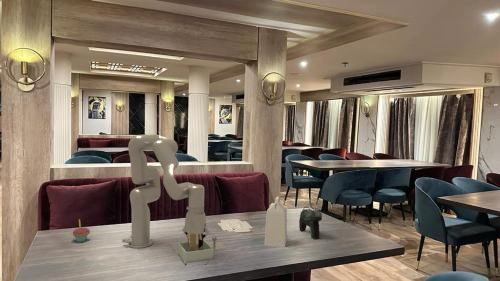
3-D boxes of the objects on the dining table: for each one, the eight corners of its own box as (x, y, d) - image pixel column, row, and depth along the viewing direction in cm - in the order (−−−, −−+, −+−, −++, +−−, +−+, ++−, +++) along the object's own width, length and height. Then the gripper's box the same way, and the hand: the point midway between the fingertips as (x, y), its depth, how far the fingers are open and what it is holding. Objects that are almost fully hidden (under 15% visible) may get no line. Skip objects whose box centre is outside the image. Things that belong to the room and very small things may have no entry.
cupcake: (69, 241, 185) (69, 219, 184) (83, 236, 192) (83, 216, 192) (79, 244, 181) (79, 222, 180) (93, 239, 188) (93, 218, 188)
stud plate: (208, 253, 173) (208, 240, 173) (202, 246, 182) (202, 235, 182) (226, 250, 178) (226, 238, 177) (219, 244, 187) (219, 232, 186)
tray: (243, 220, 238) (243, 214, 238) (256, 234, 211) (256, 228, 211) (214, 221, 231) (215, 216, 231) (224, 236, 205) (225, 230, 205)
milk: (284, 247, 185) (286, 200, 184) (264, 245, 188) (265, 199, 186) (286, 240, 197) (288, 196, 196) (267, 238, 199) (268, 194, 198)
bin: (185, 265, 158) (185, 252, 157) (177, 254, 170) (178, 243, 170) (213, 260, 164) (213, 248, 164) (204, 250, 176) (204, 239, 176)
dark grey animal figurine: (322, 239, 199) (323, 206, 199) (312, 240, 197) (314, 207, 196) (304, 229, 218) (305, 199, 217) (296, 230, 216) (297, 199, 215)
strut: (197, 253, 164) (197, 232, 163) (188, 252, 165) (188, 230, 165) (202, 250, 168) (202, 229, 168) (193, 249, 170) (193, 228, 170)
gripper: (177, 209, 165) (176, 246, 166) (208, 213, 160) (207, 251, 160) (184, 206, 172) (184, 241, 173) (215, 210, 167) (214, 246, 168)
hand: (195, 245), depth 167 cm, fingers closed on strut, 5 cm apart
